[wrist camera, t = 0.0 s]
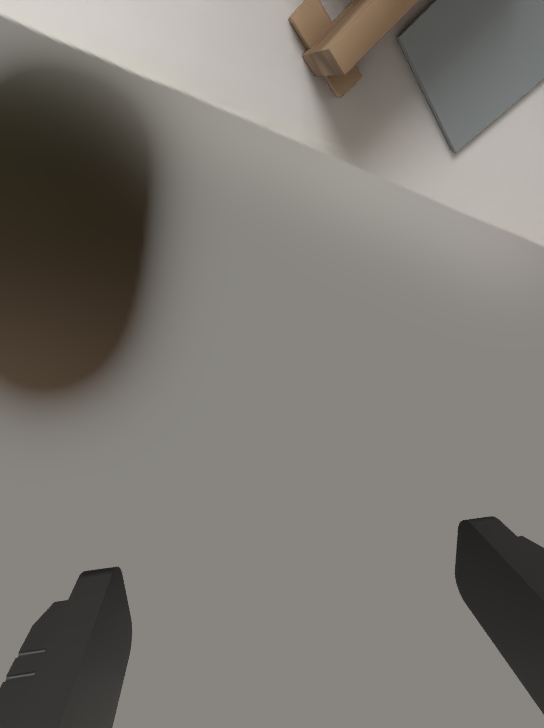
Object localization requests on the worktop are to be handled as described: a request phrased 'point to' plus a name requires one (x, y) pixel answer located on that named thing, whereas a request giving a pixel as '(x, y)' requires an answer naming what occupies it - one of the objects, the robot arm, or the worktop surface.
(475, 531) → the robot arm
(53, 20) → the worktop surface
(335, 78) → the wooden panel
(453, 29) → the mat
